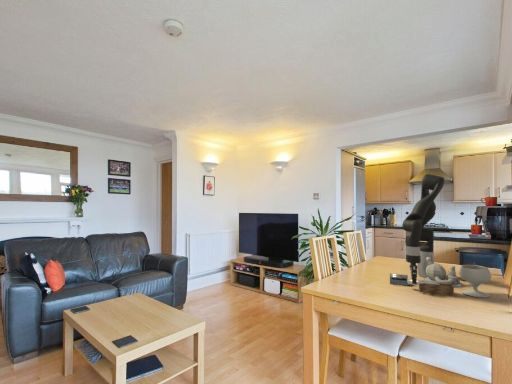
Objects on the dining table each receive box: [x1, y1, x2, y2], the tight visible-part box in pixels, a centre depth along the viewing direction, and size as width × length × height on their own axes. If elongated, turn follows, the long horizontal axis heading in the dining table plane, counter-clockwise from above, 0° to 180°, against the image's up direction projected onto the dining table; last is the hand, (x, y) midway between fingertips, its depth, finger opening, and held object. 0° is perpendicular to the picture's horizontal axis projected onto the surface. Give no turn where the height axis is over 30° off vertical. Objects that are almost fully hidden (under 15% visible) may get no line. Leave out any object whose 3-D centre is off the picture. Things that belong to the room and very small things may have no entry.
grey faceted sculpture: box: [423, 257, 464, 289], centre depth 173 cm, size 20×15×15 cm
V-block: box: [389, 273, 409, 287], centre depth 174 cm, size 10×10×5 cm
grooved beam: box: [418, 283, 455, 297], centre depth 156 cm, size 16×7×5 cm, turn 62°
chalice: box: [458, 264, 492, 298], centre depth 152 cm, size 14×14×15 cm
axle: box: [407, 278, 440, 286], centre depth 159 cm, size 16×3×3 cm, turn 62°
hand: (414, 282), depth 160 cm, fingers open, 8 cm apart
